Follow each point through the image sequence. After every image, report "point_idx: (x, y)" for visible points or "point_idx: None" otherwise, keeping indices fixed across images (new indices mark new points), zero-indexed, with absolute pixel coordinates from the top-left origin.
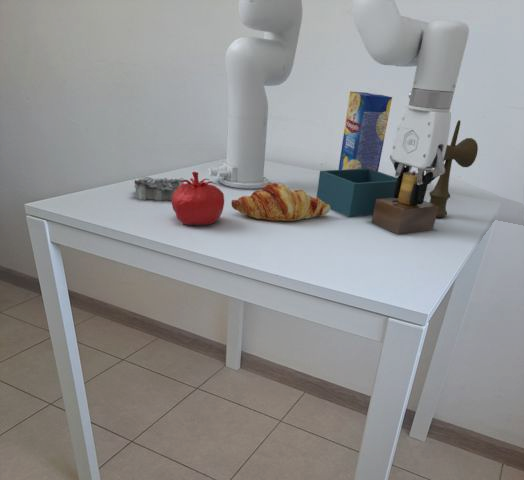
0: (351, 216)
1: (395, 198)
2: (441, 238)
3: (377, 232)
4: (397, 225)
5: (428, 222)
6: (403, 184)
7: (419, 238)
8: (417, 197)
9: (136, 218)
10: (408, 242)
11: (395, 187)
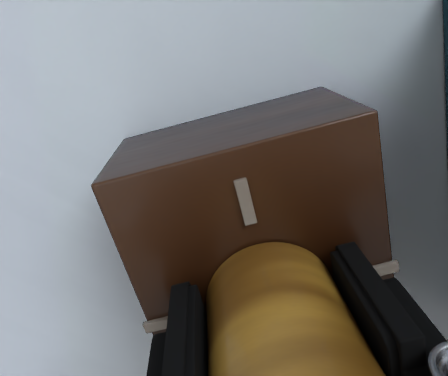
0: (444, 7)
1: None
2: (83, 314)
3: (159, 39)
4: (128, 146)
5: None
6: (291, 327)
7: (74, 222)
8: (160, 341)
9: None
10: (6, 138)
11: (379, 281)
